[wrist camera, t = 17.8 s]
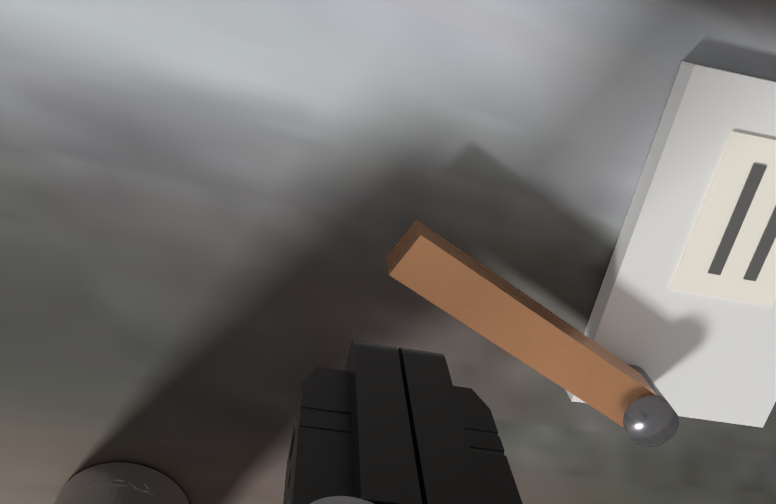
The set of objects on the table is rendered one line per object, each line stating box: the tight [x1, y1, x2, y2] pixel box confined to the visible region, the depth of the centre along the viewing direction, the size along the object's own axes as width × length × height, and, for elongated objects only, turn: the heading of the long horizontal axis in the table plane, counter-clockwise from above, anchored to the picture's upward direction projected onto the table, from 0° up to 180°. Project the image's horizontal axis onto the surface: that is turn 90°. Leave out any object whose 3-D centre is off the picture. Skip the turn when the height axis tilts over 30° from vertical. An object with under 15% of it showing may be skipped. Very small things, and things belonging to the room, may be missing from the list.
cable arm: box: [386, 219, 679, 447], centre depth 40 cm, size 20×3×4 cm, turn 53°
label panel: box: [566, 61, 776, 428], centre depth 43 cm, size 22×14×2 cm, turn 168°
